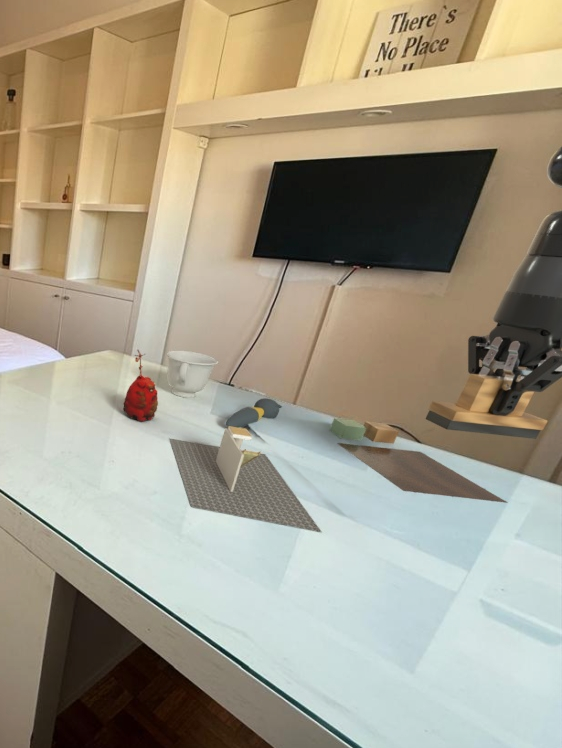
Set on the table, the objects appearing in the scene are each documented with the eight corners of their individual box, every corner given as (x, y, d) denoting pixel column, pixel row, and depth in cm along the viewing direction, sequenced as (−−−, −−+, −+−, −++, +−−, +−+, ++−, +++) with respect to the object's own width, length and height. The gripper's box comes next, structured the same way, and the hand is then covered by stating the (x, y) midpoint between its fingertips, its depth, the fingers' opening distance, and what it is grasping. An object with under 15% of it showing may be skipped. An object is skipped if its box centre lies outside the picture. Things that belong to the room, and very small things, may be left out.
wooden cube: (391, 448, 94) (377, 440, 98) (399, 431, 93) (385, 423, 96) (371, 446, 94) (358, 438, 98) (378, 429, 93) (365, 421, 97)
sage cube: (359, 445, 94) (347, 437, 98) (366, 427, 93) (353, 420, 97) (339, 443, 95) (327, 434, 99) (346, 425, 93) (333, 418, 97)
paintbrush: (242, 436, 94) (249, 414, 93) (219, 427, 98) (225, 406, 96) (283, 419, 106) (290, 399, 104) (260, 411, 109) (266, 392, 108)
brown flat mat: (418, 456, 91) (420, 451, 91) (504, 508, 74) (508, 502, 74) (333, 447, 92) (335, 442, 92) (400, 496, 76) (403, 490, 75)
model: (234, 464, 82) (246, 426, 80) (252, 495, 73) (266, 453, 70) (215, 461, 83) (226, 423, 80) (230, 491, 73) (243, 449, 71)
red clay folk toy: (150, 426, 97) (165, 358, 91) (117, 417, 100) (129, 351, 95) (157, 415, 103) (171, 351, 97) (126, 407, 106) (138, 345, 101)
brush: (508, 427, 70) (534, 378, 67) (537, 439, 66) (566, 387, 63) (424, 418, 71) (445, 369, 68) (447, 430, 67) (472, 378, 64)
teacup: (150, 396, 114) (158, 358, 111) (165, 382, 126) (173, 347, 122) (201, 409, 108) (211, 369, 104) (212, 393, 119) (222, 357, 116)
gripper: (642, 303, 54) (567, 433, 60) (526, 288, 67) (473, 396, 73) (573, 297, 55) (505, 426, 61) (471, 284, 68) (423, 391, 74)
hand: (488, 409), depth 67 cm, fingers closed on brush, 2 cm apart
